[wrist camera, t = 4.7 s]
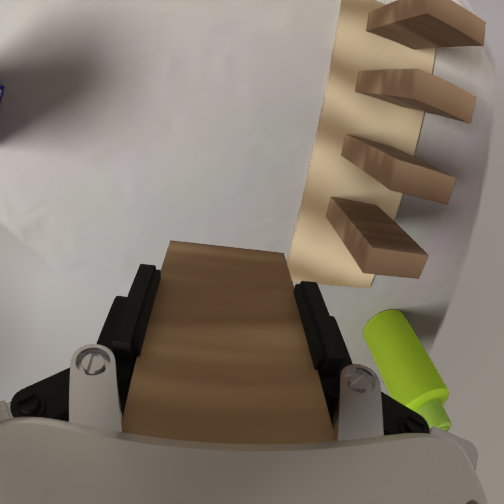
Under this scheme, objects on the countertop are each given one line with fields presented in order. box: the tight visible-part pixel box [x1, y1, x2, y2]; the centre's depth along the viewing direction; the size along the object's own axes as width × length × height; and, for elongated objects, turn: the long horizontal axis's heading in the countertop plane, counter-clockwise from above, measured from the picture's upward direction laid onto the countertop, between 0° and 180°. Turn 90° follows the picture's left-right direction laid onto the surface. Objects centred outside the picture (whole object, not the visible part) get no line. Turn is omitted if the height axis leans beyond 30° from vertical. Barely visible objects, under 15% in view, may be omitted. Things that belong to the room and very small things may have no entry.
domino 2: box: [366, 0, 486, 50], centre depth 17 cm, size 2×5×10 cm, turn 80°
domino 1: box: [122, 240, 333, 444], centre depth 10 cm, size 2×5×10 cm, turn 81°
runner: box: [287, 0, 436, 288], centre depth 27 cm, size 29×10×1 cm, turn 171°
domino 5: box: [326, 197, 429, 279], centre depth 26 cm, size 2×5×10 cm, turn 81°
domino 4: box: [341, 134, 456, 205], centre depth 23 cm, size 2×5×10 cm, turn 81°
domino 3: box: [355, 69, 476, 124], centre depth 20 cm, size 2×5×10 cm, turn 81°
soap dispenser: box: [364, 309, 451, 432], centre depth 30 cm, size 6×7×20 cm
